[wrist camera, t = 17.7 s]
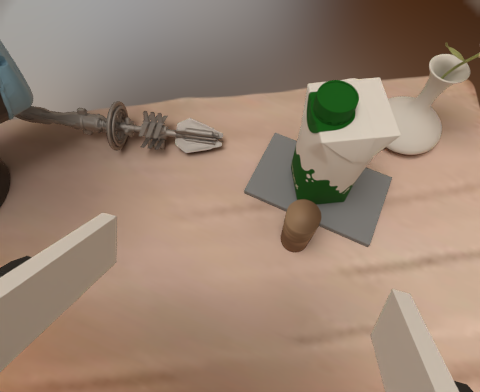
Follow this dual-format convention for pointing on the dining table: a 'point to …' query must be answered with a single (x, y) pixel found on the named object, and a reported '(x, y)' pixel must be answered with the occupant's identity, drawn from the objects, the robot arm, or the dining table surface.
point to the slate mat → (332, 214)
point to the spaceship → (130, 127)
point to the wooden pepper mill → (300, 224)
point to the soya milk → (340, 137)
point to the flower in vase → (426, 105)
